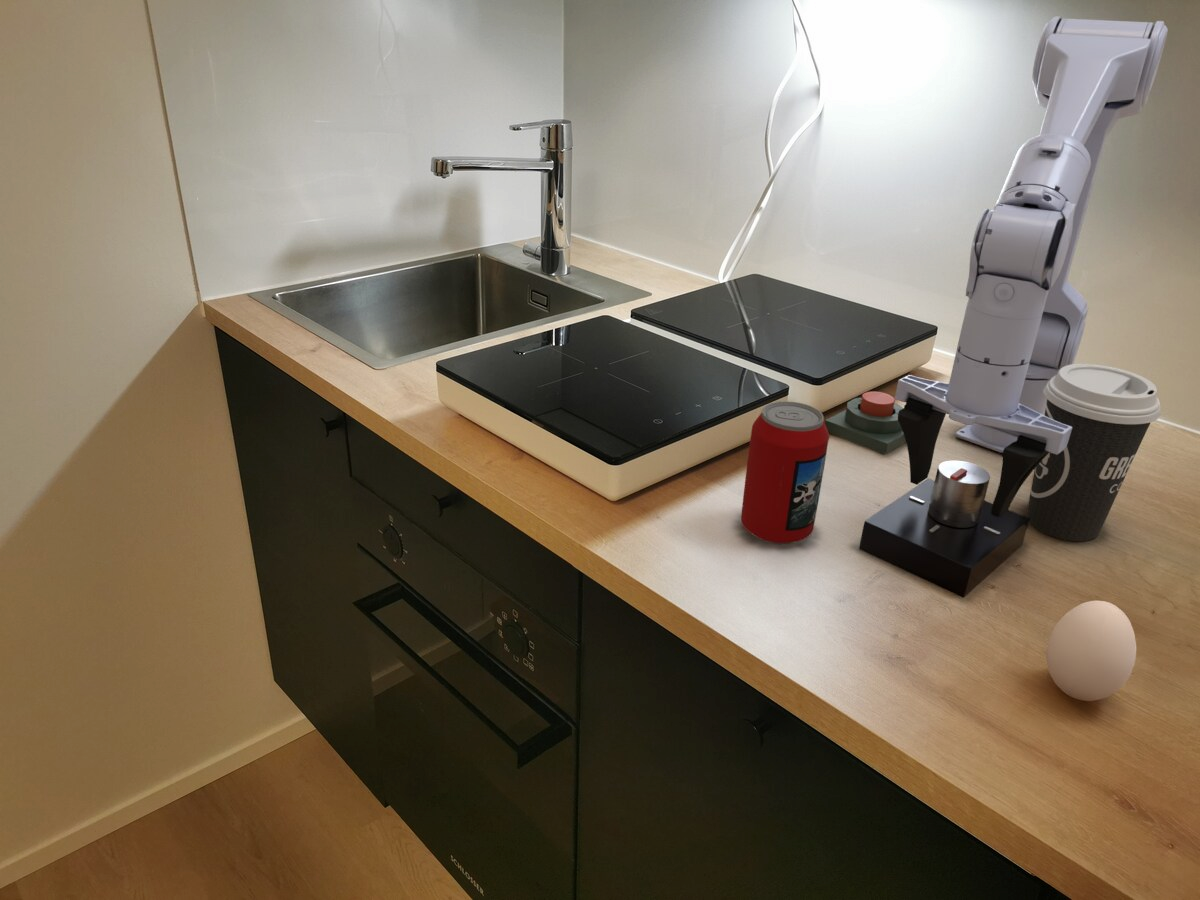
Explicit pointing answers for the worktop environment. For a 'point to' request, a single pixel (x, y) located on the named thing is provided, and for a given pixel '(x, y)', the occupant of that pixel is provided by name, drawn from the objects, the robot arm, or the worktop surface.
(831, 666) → the worktop surface
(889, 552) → the panel
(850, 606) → the worktop surface
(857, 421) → the button block
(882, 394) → the button
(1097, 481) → the coffee cup
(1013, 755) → the worktop surface
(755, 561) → the worktop surface
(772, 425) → the beverage can
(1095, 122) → the robot arm
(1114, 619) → the egg
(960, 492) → the knob
